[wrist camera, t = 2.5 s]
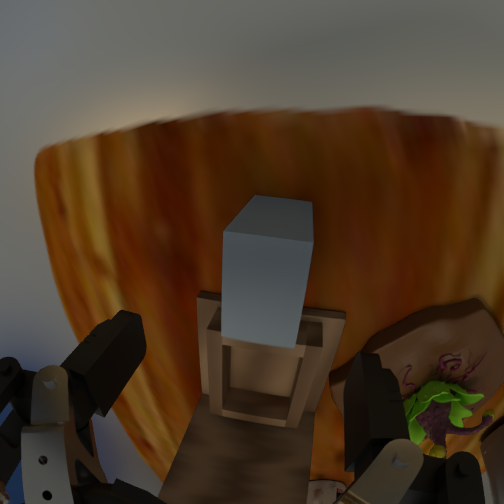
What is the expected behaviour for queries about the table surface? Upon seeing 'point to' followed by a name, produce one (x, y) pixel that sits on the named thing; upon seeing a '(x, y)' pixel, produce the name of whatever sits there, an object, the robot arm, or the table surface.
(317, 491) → the teacup with lid
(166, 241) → the table surface
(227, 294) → the block
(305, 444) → the chair
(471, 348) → the plant
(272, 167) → the table surface
